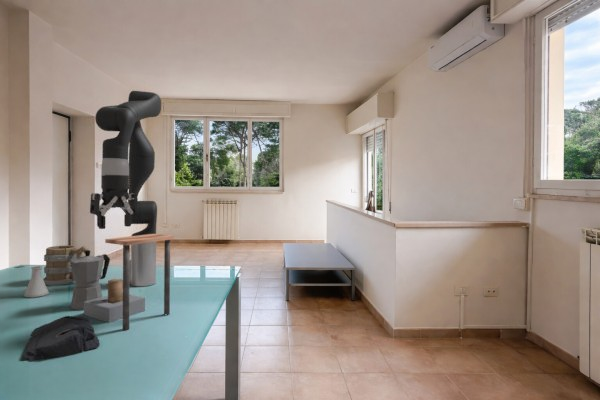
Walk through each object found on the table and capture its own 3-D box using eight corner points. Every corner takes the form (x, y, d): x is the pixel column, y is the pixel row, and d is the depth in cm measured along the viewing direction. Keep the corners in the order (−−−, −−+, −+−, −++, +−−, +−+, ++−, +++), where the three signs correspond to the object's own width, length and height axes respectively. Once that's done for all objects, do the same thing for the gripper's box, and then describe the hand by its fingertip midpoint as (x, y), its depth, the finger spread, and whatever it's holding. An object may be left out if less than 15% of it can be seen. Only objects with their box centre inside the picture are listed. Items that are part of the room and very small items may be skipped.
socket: (83, 315, 110) (83, 301, 110) (119, 304, 121) (120, 292, 121) (109, 322, 105) (109, 308, 105) (144, 310, 115) (145, 298, 115)
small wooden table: (104, 325, 103) (105, 239, 102) (152, 309, 117) (152, 233, 116) (126, 331, 98) (126, 241, 98) (172, 314, 112) (173, 235, 112)
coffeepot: (80, 313, 112) (81, 254, 111) (57, 310, 115) (57, 252, 114) (119, 299, 126) (120, 247, 126) (98, 296, 129) (98, 245, 129)
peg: (105, 313, 112) (105, 280, 112) (116, 310, 116) (117, 278, 115) (113, 315, 110) (113, 282, 110) (125, 312, 114) (125, 279, 114)
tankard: (35, 283, 146) (35, 245, 146) (66, 276, 158) (66, 241, 158) (70, 289, 139) (70, 249, 138) (100, 281, 151) (100, 244, 150)
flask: (53, 294, 132) (53, 266, 132) (31, 299, 125) (31, 270, 125) (41, 291, 135) (41, 264, 135) (19, 296, 128) (19, 267, 128)
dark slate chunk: (96, 322, 106) (96, 306, 106) (100, 352, 87) (100, 332, 87) (30, 332, 98) (30, 314, 98) (18, 367, 79) (18, 345, 79)
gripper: (128, 175, 120) (127, 225, 120) (84, 173, 107) (84, 228, 108) (143, 175, 116) (143, 226, 117) (100, 172, 104) (100, 230, 104)
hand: (115, 227), depth 112 cm, fingers open, 8 cm apart
